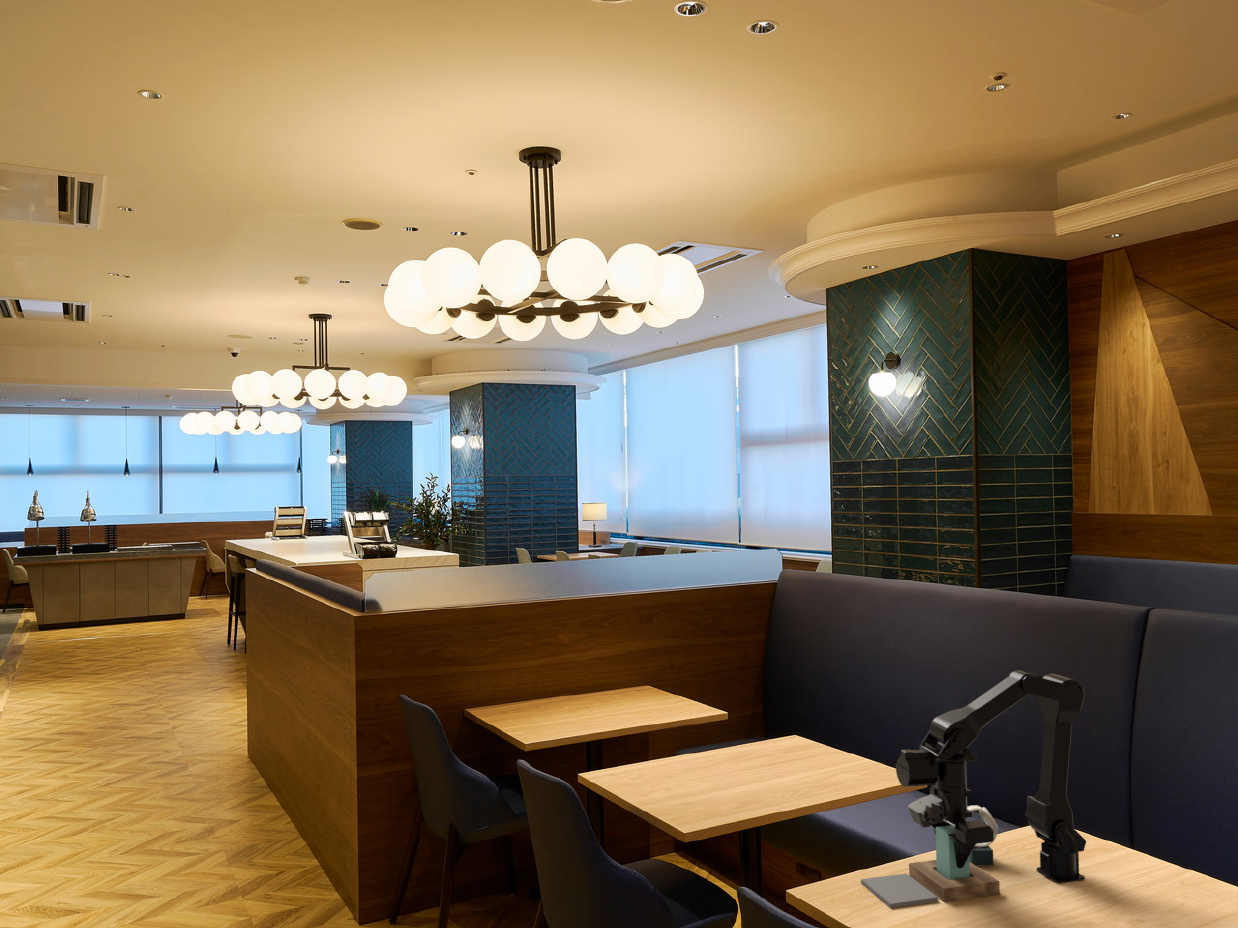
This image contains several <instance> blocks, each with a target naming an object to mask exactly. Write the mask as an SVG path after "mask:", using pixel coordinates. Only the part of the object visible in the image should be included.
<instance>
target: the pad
mask: <svg viewBox="0 0 1238 928" xmlns="http://www.w3.org/2000/svg"><path fill="white" fill-rule="evenodd" d="M860 884H861V885H862V886H864V888H866V889H867V890H868V891H869V892H871V893H872V894H873V895H874V896H875V897H876V898H878V899H879V900H880V901H881V902H882V903H883V904H885V906H888V907H889V908H890V909H892V908H900V907H909V906H915V905H922V904H929V903H936V902H939V898H938V897H937V896H936V895H934V894H933V893H932V892H930V891H929V890H928V889H926V888H925V887H924V886H922V885H921V884H920V883H918V882H917V881H916V880H914V879H913V878H912V877H910V876H909V873H898V874H891V875H890V874H889V875H883V876H876V877H867V878H860Z"/></svg>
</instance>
